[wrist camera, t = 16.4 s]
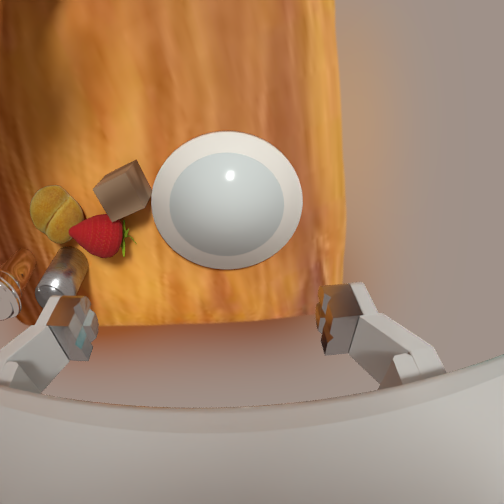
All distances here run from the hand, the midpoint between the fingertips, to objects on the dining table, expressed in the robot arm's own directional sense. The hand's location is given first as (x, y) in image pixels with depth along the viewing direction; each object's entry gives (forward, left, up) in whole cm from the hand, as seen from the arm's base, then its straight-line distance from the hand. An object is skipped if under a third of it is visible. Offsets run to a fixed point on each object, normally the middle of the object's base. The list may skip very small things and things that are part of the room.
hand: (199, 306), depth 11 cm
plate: (+11, 0, -31) cm, 33 cm away
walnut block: (+7, -13, -31) cm, 34 cm away
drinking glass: (+19, -26, -31) cm, 45 cm away
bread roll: (+9, -28, -32) cm, 43 cm away
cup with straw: (+18, -36, -31) cm, 51 cm away
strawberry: (+10, -21, -25) cm, 34 cm away
